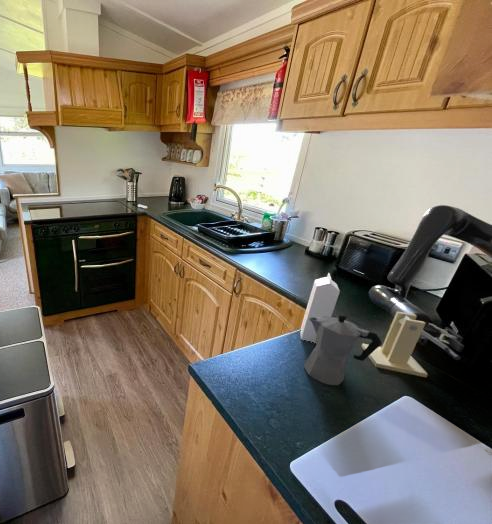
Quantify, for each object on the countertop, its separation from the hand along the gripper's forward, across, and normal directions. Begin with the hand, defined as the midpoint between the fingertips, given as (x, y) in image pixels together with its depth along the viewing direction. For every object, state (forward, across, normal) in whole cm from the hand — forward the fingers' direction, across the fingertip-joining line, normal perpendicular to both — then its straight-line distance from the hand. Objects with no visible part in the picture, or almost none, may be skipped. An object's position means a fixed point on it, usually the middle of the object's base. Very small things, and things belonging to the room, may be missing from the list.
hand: (443, 345), depth 80 cm
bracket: (+1, -11, +7) cm, 13 cm away
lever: (+1, -6, -2) cm, 7 cm away
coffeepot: (+15, -31, +8) cm, 36 cm away
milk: (-3, -31, +8) cm, 32 cm away
